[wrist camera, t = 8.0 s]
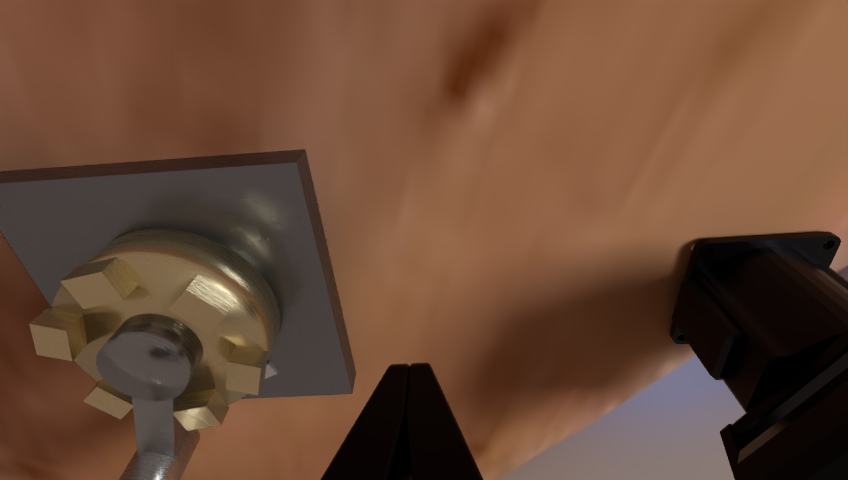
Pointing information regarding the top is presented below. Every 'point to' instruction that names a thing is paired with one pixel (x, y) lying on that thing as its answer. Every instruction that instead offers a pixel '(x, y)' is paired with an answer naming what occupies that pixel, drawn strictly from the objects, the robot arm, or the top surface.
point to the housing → (206, 216)
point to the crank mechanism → (163, 338)
